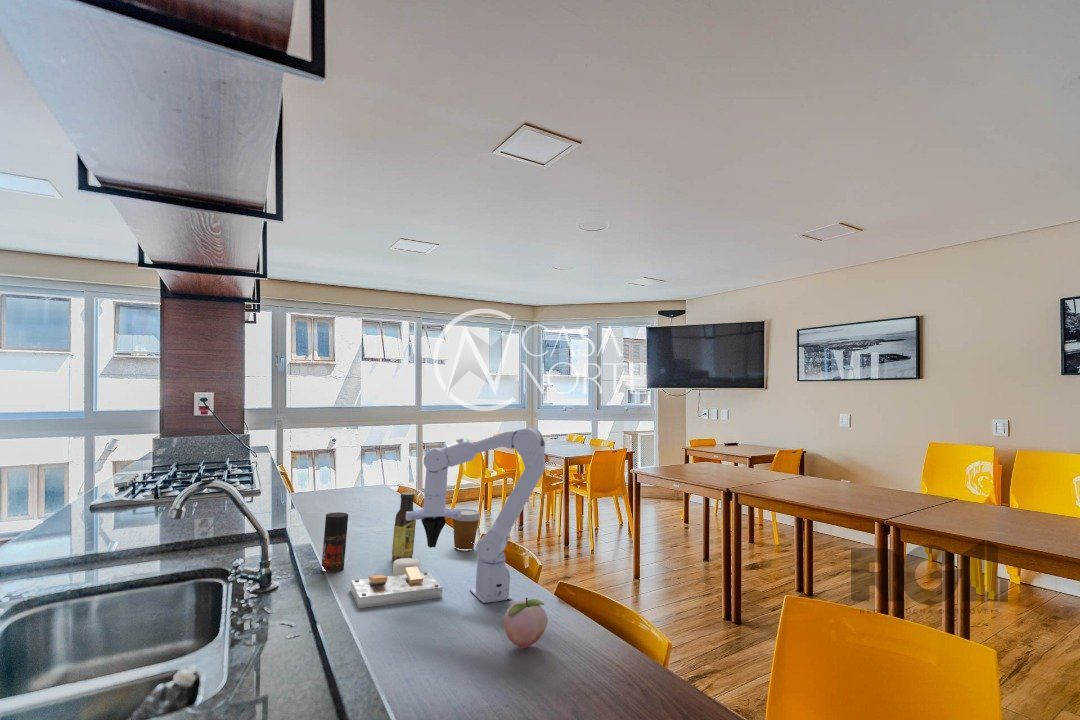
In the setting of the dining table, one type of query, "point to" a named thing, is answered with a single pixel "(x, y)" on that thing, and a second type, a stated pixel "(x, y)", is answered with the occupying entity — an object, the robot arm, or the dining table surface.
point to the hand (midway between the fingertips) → (431, 546)
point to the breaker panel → (394, 590)
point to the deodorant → (334, 542)
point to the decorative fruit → (525, 622)
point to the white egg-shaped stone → (404, 565)
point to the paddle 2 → (413, 575)
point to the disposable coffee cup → (465, 528)
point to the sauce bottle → (404, 529)
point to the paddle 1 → (378, 578)
